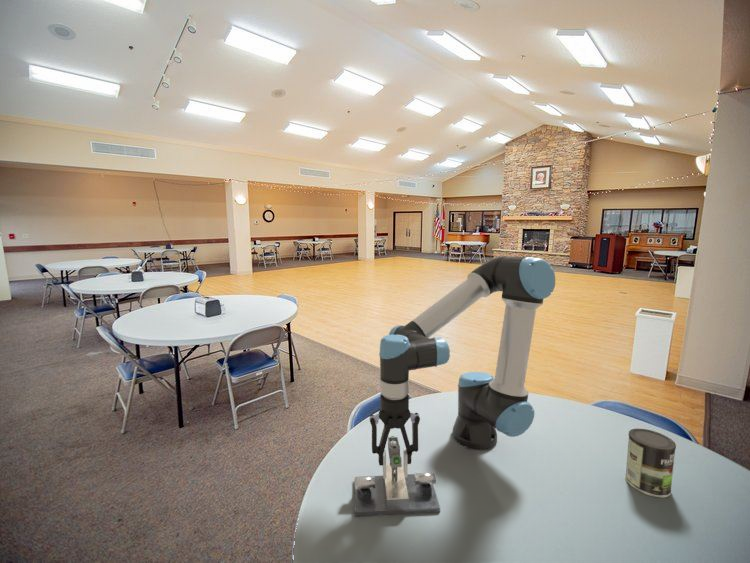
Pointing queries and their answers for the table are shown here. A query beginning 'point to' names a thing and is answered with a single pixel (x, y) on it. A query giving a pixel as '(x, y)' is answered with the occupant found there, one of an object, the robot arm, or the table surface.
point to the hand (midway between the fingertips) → (394, 474)
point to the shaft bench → (395, 494)
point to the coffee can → (650, 462)
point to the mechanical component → (394, 456)
